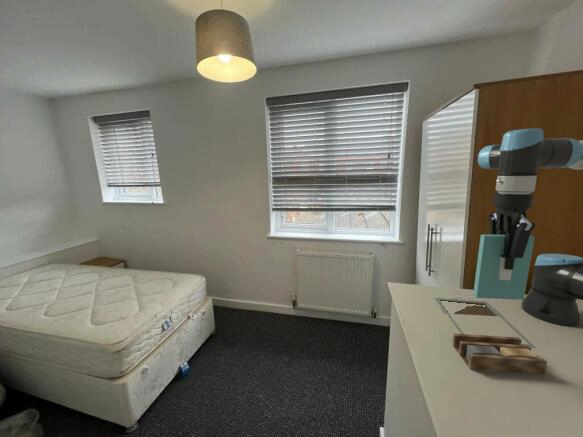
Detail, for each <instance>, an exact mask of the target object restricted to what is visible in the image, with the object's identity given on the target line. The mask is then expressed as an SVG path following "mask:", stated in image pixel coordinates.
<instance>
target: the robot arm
mask: <svg viewBox="0 0 583 437" xmlns="http://www.w3.org/2000/svg"><path fill="white" fill-rule="evenodd" d="M477 163H478V165H479V167H480V168H482V169H484V170H486V169H487V170H497V175H496V176H497V178H496V182H495V183H496V185H495V191H497V192H495V193H494V196H493V207H495V208H496V211H495V213H489V214H488V221H489V233H488V235H505V245H504V255H501V259H500V266H499V273H498V279H499V280H511V273H512V270H513V267H514V260H515V258H523V255H524V252H525V249H526V246H527V243H528V239H529V236H530V235H531V233H532V231H533V229H534V228H535V227H536V224H535V222H531V221H529V220H528V219H527V218H528V216H527V210H529V209H531V208H532V207H533V202H534V200H533V199H534V195H533V192H535V191H536V185H537V184H536V183H537V178H538V170H539V169H554V170H555V169H562V168H564V169H565V168H569V169H570V170H571V169H572V170H575V171H576V170H578V171H579V170H581V171H582V170H583V139H580V140H578V139H576V138H575V139H574V138H569V137H568V138H567V137H561V138H558V137H556V138H555V137H554V138H545V136H544V130H543V129H542V128H538V127H537V128H523V129H522V128H521V129H515V130H510V131H507V132H506V133H504V134H503V136H502V140H501V143H499V144H492V145H486V146H484V147H483V148H482V149H480V150H479V153H478V155H477ZM577 299H579V300H582V301H583V257H582V256H577V255H571V254H565V253H542V254H539V255H538V256H537V257H536V260H535V263H534V268H533V274H532V279H531V286H530V289H529V291H528V293H527V294H526V295H525V297H524V300H522V301H521V306H520V307H521V309H522V310H523V311H524V312H525V313H526V314H528V315H530V316H533V317H535V319H539V320H542V321H545V322H546V323H547V322H548V323H551V324H556V325H561V326H566V327H570V326H571V327H572V326H577V325H578V324H580V320H581V315H580V312H579V307H578V303H577Z"/></svg>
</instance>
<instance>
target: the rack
mask: <svg viewBox="0 0 583 437" xmlns="http://www.w3.org/2000/svg"><path fill="white" fill-rule="evenodd" d="M452 337H453V338H452V343H451V345H452V347H453V348H454V350H455V351H456V352H457V354H458V355H459V357H460V358H461V359H462V361H463V362H464V363H465V365H466V366H467V367H468V368H469V370H476V371H488V372H489V371H491V372H501V373H502V372H503V373H512V374H513V373H515V374H527V375H528V374H529V375H540V376H541V375H542V376H544V375H546V369H547V364H548V361H547V360H546V359H545V358H541V357H539V358H538V357H537V358H527V357H513V356H499V355H484V354H470V356H469V361H468V360H467V358H466V350H467V345H476V346H491V347H495V348H496V349H497V350H498V351H499V352H500V347H507V348H522V349H529V350H530V351H531V352H532V348H531V347H530V346H528V345H521V344H522V338H521V337H520V336H519V337H517V336H516V337H514V336H502V335H501V336H500V335H483V334H467V333H464V334H461V333H453V336H452Z"/></svg>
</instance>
